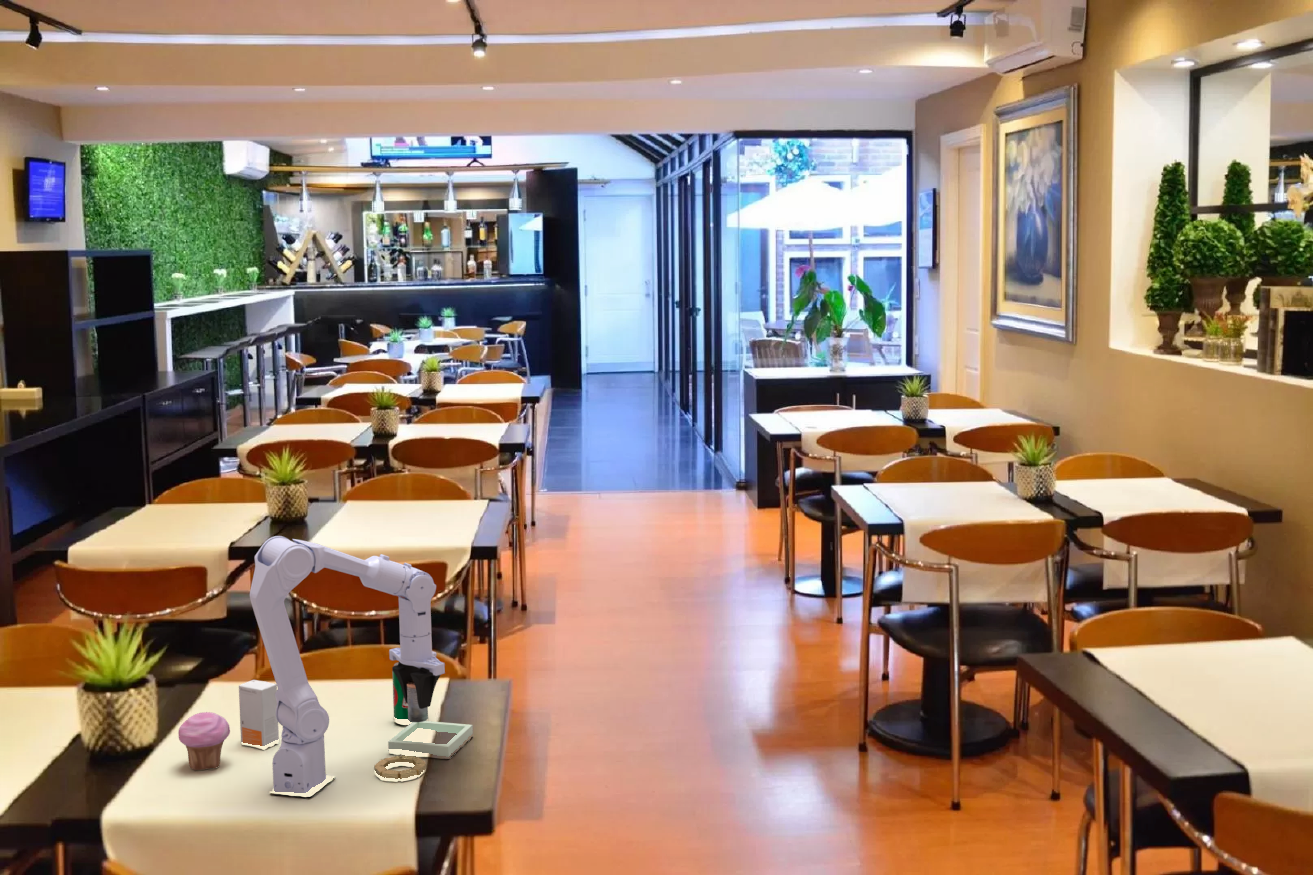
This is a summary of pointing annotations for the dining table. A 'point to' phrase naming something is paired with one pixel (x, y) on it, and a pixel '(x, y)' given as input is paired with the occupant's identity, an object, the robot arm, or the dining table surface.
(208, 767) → the cupcake
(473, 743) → the dining table surface
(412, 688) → the grey copper-topped cylinder
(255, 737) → the skincare box
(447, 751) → the mint green square frame
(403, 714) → the soda can
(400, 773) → the collar
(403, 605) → the robot arm
